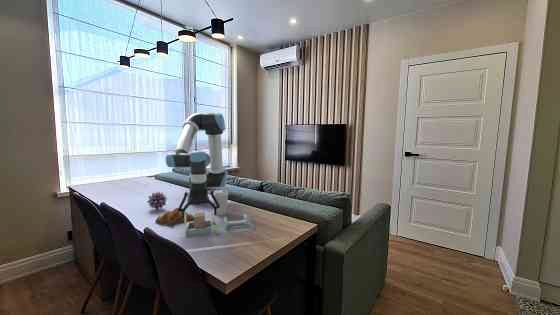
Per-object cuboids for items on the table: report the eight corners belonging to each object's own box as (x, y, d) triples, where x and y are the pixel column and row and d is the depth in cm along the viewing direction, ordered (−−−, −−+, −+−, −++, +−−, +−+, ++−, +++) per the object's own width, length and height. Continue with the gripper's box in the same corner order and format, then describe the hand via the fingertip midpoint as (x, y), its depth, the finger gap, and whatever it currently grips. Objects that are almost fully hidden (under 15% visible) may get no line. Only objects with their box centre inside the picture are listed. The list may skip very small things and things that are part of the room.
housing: (182, 227, 128) (182, 219, 128) (249, 220, 139) (249, 213, 139) (179, 240, 113) (179, 231, 113) (254, 231, 124) (254, 223, 123)
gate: (224, 223, 131) (223, 214, 130) (245, 221, 134) (245, 212, 134) (225, 229, 123) (225, 220, 123) (247, 227, 127) (247, 218, 126)
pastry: (165, 230, 125) (165, 215, 124) (154, 222, 135) (154, 208, 134) (196, 221, 137) (195, 208, 136) (183, 215, 148) (183, 202, 147)
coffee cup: (225, 218, 142) (224, 193, 141) (210, 217, 144) (209, 192, 143) (231, 213, 152) (231, 189, 150) (217, 211, 153) (217, 188, 152)
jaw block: (195, 227, 126) (194, 212, 125) (205, 226, 127) (204, 212, 126) (194, 232, 120) (194, 216, 119) (205, 231, 121) (204, 215, 120)
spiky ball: (168, 205, 165) (167, 188, 163) (166, 211, 153) (165, 193, 152) (149, 207, 161) (148, 190, 160) (146, 213, 150) (145, 194, 148)
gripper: (170, 184, 113) (172, 228, 116) (224, 182, 121) (225, 222, 123) (172, 181, 120) (174, 222, 123) (223, 179, 128) (224, 217, 130)
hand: (199, 222), depth 123 cm, fingers open, 13 cm apart
